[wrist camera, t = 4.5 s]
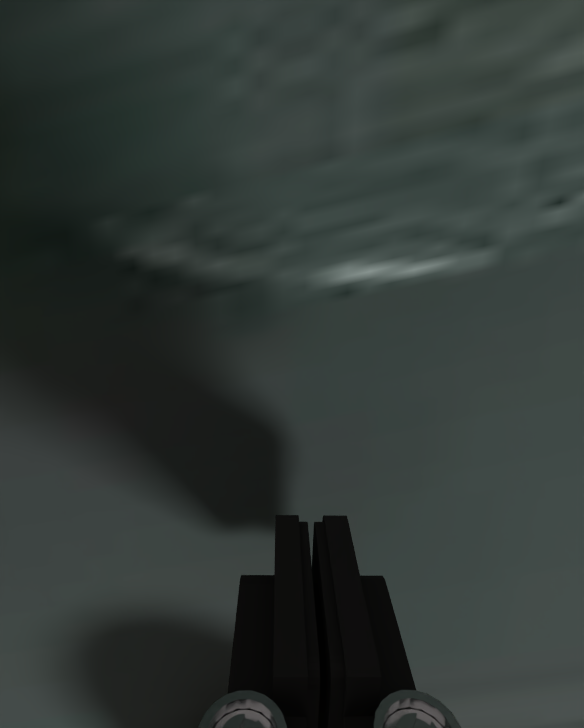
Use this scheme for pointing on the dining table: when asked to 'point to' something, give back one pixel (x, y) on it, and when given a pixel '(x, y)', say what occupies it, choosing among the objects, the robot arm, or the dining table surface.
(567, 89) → the dining table surface
